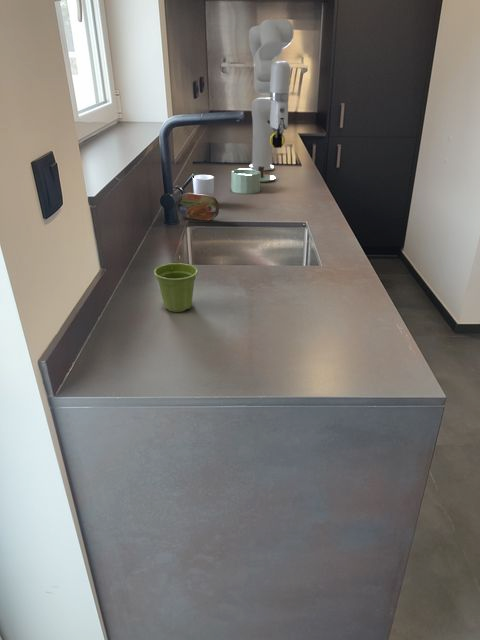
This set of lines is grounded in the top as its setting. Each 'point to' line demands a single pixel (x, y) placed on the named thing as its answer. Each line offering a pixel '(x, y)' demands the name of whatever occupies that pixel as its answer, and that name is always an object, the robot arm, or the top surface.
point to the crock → (245, 181)
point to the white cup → (203, 184)
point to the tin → (198, 206)
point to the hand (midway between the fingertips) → (276, 146)
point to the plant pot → (176, 285)
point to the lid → (265, 177)
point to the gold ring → (271, 139)
